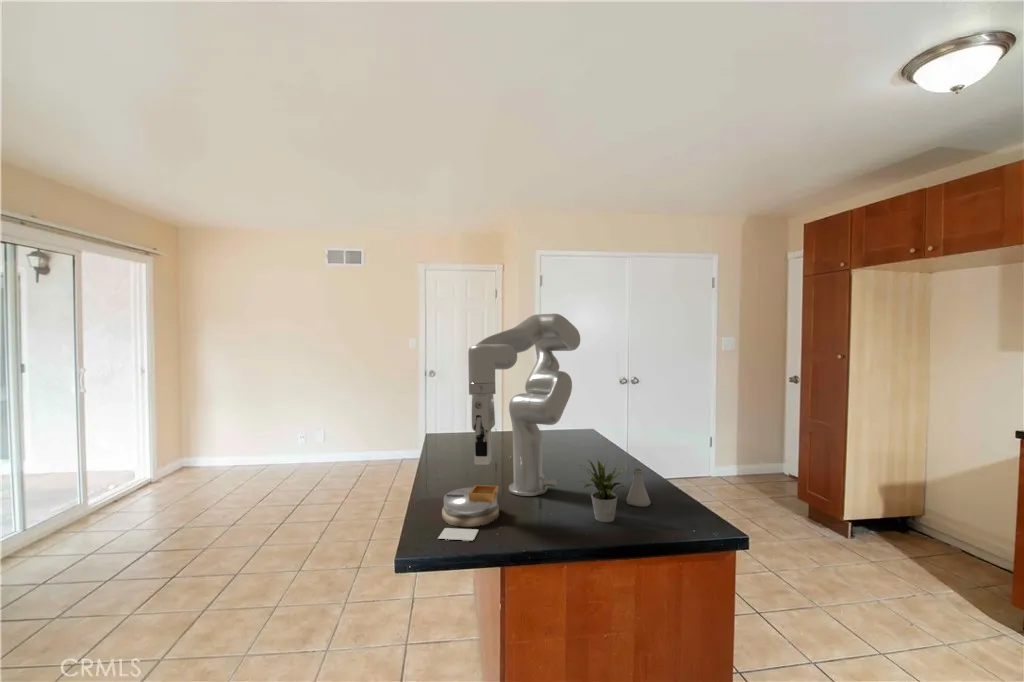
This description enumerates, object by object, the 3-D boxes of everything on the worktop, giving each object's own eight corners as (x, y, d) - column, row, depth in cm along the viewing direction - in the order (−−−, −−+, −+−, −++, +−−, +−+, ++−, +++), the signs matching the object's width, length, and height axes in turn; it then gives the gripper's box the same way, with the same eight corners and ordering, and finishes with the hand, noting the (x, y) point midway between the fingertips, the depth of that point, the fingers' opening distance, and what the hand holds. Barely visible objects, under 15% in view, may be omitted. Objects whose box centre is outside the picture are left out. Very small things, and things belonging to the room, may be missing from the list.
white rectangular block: (491, 460, 124) (491, 429, 124) (488, 464, 120) (488, 432, 120) (477, 460, 125) (477, 429, 125) (474, 464, 121) (474, 431, 121)
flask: (652, 500, 132) (652, 467, 132) (649, 509, 126) (649, 474, 126) (628, 497, 135) (627, 465, 135) (624, 505, 129) (623, 471, 129)
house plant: (563, 515, 122) (562, 457, 122) (597, 503, 130) (596, 449, 130) (602, 533, 110) (601, 468, 110) (637, 519, 119) (636, 459, 119)
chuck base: (503, 505, 130) (503, 498, 130) (493, 528, 114) (493, 520, 114) (451, 503, 132) (451, 496, 132) (434, 525, 117) (434, 518, 117)
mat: (478, 531, 113) (478, 529, 113) (473, 541, 107) (473, 540, 107) (444, 529, 114) (444, 528, 114) (437, 539, 108) (437, 538, 108)
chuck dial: (436, 516, 117) (436, 497, 117) (452, 496, 132) (452, 480, 132) (491, 518, 115) (491, 499, 115) (501, 498, 130) (500, 481, 130)
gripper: (489, 392, 114) (490, 462, 114) (500, 385, 131) (501, 447, 130) (461, 392, 115) (462, 461, 115) (475, 385, 132) (476, 446, 132)
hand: (483, 453), depth 123 cm, fingers closed on white rectangular block, 4 cm apart
